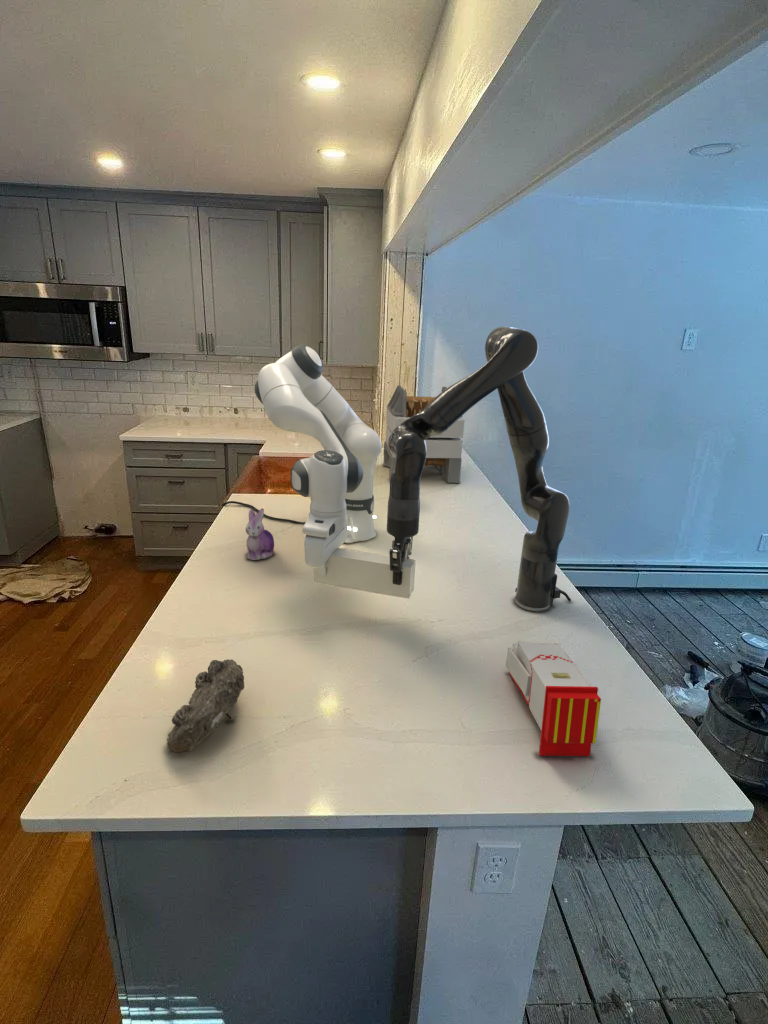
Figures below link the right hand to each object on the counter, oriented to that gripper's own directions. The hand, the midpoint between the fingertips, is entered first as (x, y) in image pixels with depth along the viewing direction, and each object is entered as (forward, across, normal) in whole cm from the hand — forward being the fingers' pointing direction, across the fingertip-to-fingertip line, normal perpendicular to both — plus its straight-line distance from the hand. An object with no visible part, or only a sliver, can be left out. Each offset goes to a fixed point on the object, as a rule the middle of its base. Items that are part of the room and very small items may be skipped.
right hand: (400, 578), depth 138 cm
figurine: (+13, +25, +51) cm, 59 cm away
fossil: (+13, -45, +25) cm, 53 cm away
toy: (+13, -21, -36) cm, 43 cm away
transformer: (+13, +139, +26) cm, 142 cm away
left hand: (+1, 0, +19) cm, 19 cm away
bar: (+4, 0, +9) cm, 10 cm away
